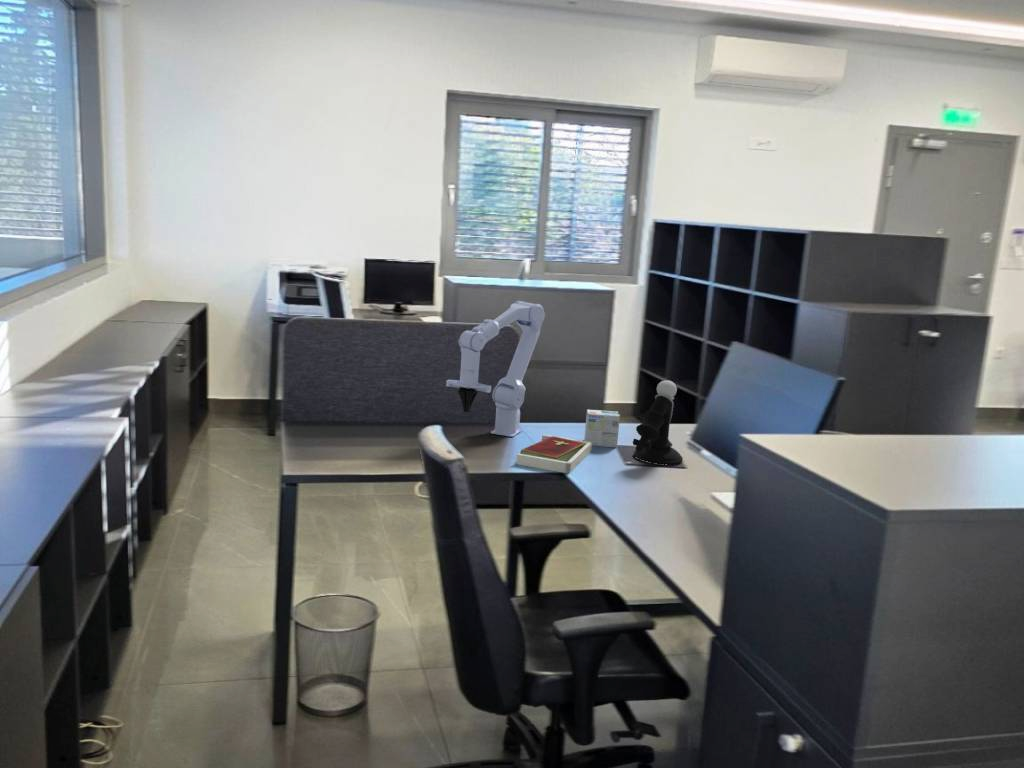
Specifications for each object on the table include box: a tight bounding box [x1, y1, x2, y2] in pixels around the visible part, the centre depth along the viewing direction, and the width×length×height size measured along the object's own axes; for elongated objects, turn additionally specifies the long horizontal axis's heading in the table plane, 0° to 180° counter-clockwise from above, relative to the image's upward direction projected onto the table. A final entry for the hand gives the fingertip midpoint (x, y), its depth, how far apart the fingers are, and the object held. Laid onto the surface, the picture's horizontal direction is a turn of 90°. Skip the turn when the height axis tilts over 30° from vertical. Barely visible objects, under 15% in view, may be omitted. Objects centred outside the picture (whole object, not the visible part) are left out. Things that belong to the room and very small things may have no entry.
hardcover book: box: [519, 435, 586, 462], centre depth 262 cm, size 12×21×4 cm, turn 151°
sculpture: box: [632, 379, 684, 466], centre depth 264 cm, size 15×24×25 cm, turn 147°
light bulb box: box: [583, 409, 621, 448], centre depth 280 cm, size 11×7×11 cm, turn 89°
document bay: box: [515, 434, 593, 474], centre depth 261 cm, size 26×16×3 cm, turn 161°
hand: (466, 411), depth 271 cm, fingers closed
